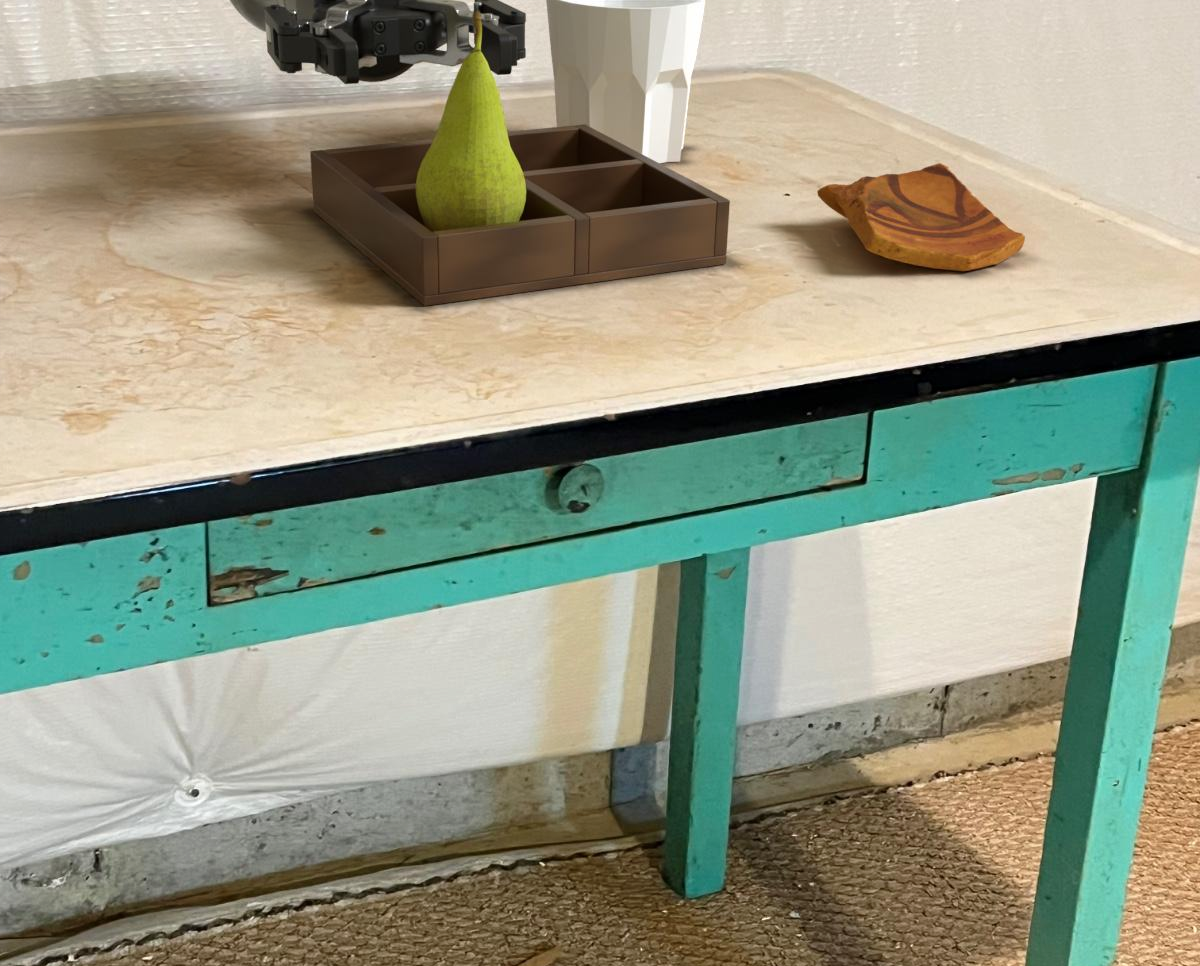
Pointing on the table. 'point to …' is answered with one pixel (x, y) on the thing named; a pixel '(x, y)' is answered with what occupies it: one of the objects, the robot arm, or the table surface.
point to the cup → (626, 69)
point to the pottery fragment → (923, 220)
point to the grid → (525, 217)
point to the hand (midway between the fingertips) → (430, 60)
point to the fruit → (471, 155)
